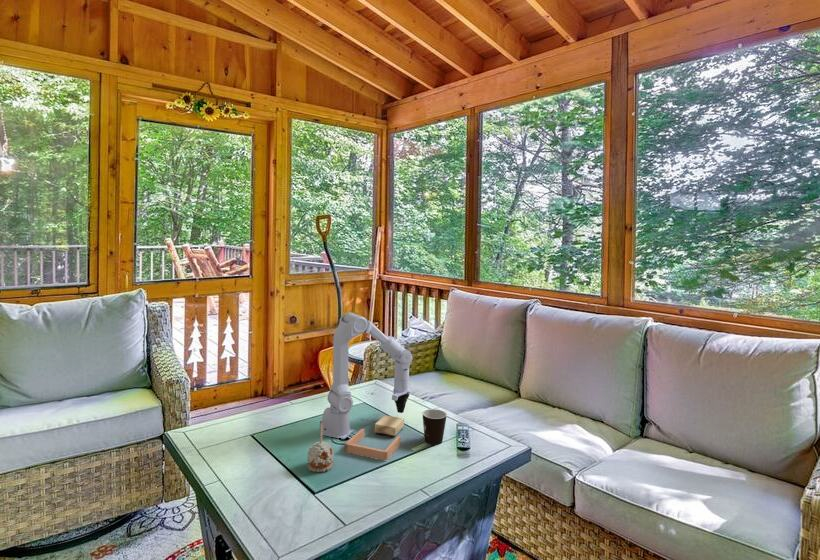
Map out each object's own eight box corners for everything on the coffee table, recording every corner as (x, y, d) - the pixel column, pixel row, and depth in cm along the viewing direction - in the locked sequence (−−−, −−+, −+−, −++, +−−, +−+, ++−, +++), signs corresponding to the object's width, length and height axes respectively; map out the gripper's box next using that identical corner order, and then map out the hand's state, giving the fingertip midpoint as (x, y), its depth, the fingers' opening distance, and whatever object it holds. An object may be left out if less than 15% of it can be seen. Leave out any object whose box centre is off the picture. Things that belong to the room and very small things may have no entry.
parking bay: (344, 452, 153) (344, 443, 153) (361, 436, 165) (361, 428, 165) (386, 461, 148) (386, 452, 148) (400, 444, 160) (400, 436, 160)
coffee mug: (443, 447, 159) (445, 419, 158) (419, 444, 161) (420, 417, 160) (447, 433, 171) (449, 407, 170) (425, 430, 172) (426, 405, 171)
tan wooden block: (374, 434, 168) (374, 424, 167) (384, 425, 176) (384, 415, 176) (394, 438, 165) (395, 427, 164) (403, 428, 173) (404, 418, 173)
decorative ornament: (321, 476, 138) (322, 428, 137) (302, 468, 142) (303, 421, 141) (338, 465, 145) (339, 419, 143) (319, 458, 149) (320, 413, 147)
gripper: (404, 385, 171) (403, 420, 172) (417, 374, 184) (416, 407, 186) (387, 382, 173) (386, 417, 175) (400, 372, 187) (400, 404, 188)
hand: (400, 412), depth 180 cm, fingers closed
